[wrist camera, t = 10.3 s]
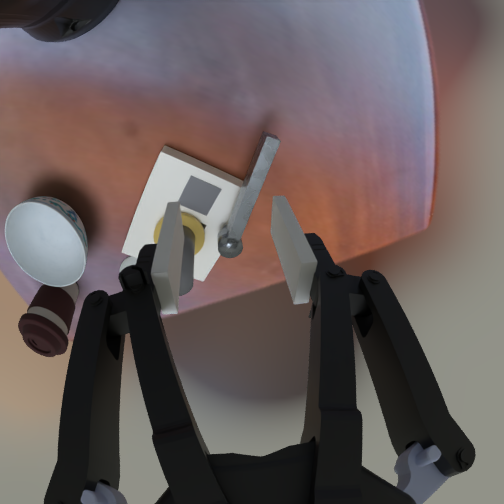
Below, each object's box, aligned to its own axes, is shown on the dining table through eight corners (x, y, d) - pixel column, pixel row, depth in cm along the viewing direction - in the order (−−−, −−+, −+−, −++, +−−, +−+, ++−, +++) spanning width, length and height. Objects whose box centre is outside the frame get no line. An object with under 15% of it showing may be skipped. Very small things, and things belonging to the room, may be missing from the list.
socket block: (164, 145, 33) (159, 155, 30) (255, 186, 39) (259, 200, 36) (125, 240, 41) (119, 258, 38) (203, 269, 47) (203, 287, 44)
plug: (168, 193, 38) (153, 248, 28) (213, 212, 41) (215, 270, 31) (151, 232, 41) (135, 292, 31) (193, 247, 44) (190, 310, 34)
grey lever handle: (236, 248, 39) (238, 259, 37) (214, 244, 38) (215, 255, 36) (282, 137, 30) (287, 143, 28) (256, 129, 29) (260, 134, 27)
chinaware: (82, 269, 44) (69, 300, 38) (19, 228, 36) (-1, 255, 30) (116, 210, 38) (101, 240, 32) (42, 160, 31) (15, 182, 25)
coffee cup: (89, 278, 45) (66, 344, 33) (81, 307, 49) (62, 368, 38) (45, 257, 41) (12, 318, 29) (41, 289, 45) (17, 347, 33)
